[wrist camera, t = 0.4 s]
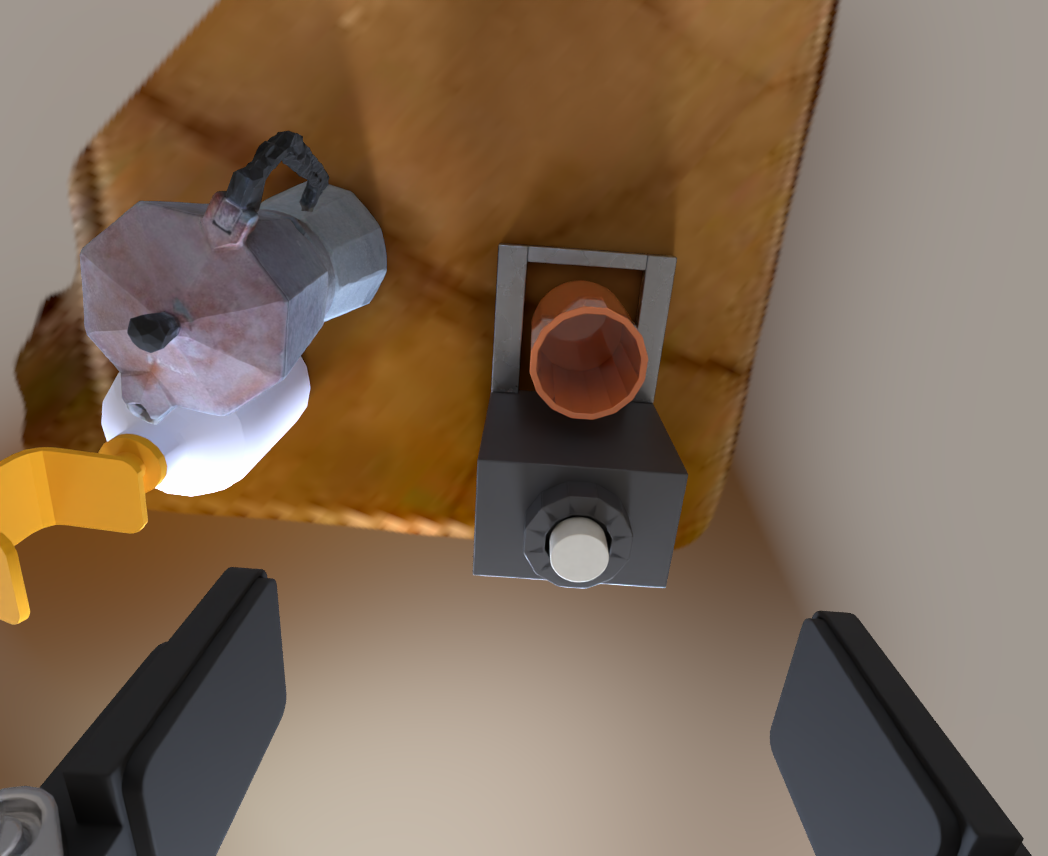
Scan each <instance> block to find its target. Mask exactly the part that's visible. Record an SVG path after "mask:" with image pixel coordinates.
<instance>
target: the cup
mask: <svg viewBox="0 0 1048 856" xmlns="http://www.w3.org/2000/svg"><path fill="white" fill-rule="evenodd" d="M647 364H648V355H647V351H646V348H645V344H644V340H643V337H642V335H641V333H640V332H639V330H638V329H637V327H636V326H635V324H634V322H633V321H632V319H631V318H630V316H629V315H628V313H627V311H626V310H625V308H624V307H623V305H622V304H621V303H620V301H619V300H618V299H617V297H616V296H615V295H614V294H613V293H612V292H611V291H610V290H608V289H607V288H605V287H604V286H602V285H600V284H598V283H595V282H591V281H585V280H575V281H569V282H565V283H563V284H560V285H558V286H556V287H555V288H553V289H552V290H550V291H549V292H548V293H547V294H546V295H545V296H544V297H543V298H542V299H541V300H540V302H539V303H538V305H537V307H536V309H535V311H534V314H533V316H532V324H531V341H530V375H531V378H532V381H533V384H534V386H535V389H536V392H537V394H538V395H539V396H540V397H541V398H542V399H543V400H544V401H545V402H546V404H547V405H548V406H549V407H550V408H552V409H553V410H555V411H557V412H559V413H561V414H563V415H565V416H568V417H570V418H575V419H589V420H593V419H598V418H601V417H605V416H608V415H611V414H614V413H616V412H618V411H619V410H620V409H621V408H623V407H624V406H625V405H627V404H628V403H629V402H631V401H632V400H633V399H634V397H635V396H636V394H637V392H638V391H639V389H640V388H641V386H642V384H643V383H644V381H645V376H646V370H647Z"/></svg>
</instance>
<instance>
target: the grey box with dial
mask: <svg viewBox="0 0 1048 856" xmlns="http://www.w3.org/2000/svg"><path fill="white" fill-rule="evenodd" d="M687 478H688V473H687V471H686V469H685V467H684V465H683V463H682V461H681V459H680V457H679V455H678V453H677V451H676V449H675V447H674V445H673V443H672V441H671V439H670V437H669V435H668V433H667V431H666V429H665V427H664V425H663V423H662V421H661V419H660V417H659V415H658V413H657V411H656V409H655V407H654V405H653V403H641V402H629V403H628V404H627V405H625V406H624V407H623V408H621V409H620V410H619V411H618V412H616V413H614V414H611V415H608V416H605V417H601V418H598V419H593V420H589V419H575V418H570V417H568V416H565V415H563V414H561V413H559V412H557V411H555V410H553V409H552V408H550V407H549V406H548V405H547V404H546V402H545V401H544V400H543V399H542V398H541V397H540V396H539V395H538V394H537V392H536V391H525V390H518V393H517V394H515V393H501V392H492V391H491V396H490V401H489V406H488V411H487V416H486V421H485V426H484V431H483V436H482V441H481V446H480V451H479V456H478V463H477V486H476V509H475V532H474V555H473V575H480V576H495V577H510V578H525V579H540V580H548V581H550V582H551V583H553V584H555V585H556V586H559V587H568V588H583V589H586V588H589V587H592V586H595V585H597V584H612V585H628V586H642V587H657V588H666V584H667V579H668V573H669V568H670V563H671V558H672V553H673V548H674V543H675V538H676V533H677V528H678V523H679V518H680V513H681V508H682V503H683V498H684V493H685V488H686V483H687ZM572 517H585V518H588V519H591V520H593V521H595V522H596V523H597V524H599V525H600V527H601V528H602V529H603V531H604V533H605V537H606V542H607V547H608V552H609V561H608V564H607V567H606V568H605V570H604V571H603V572H602V573H601V574H600V575H599V576H598V577H596V578H594V579H592V580H589V581H585V582H572V581H569V580H566V579H564V578H562V577H561V576H559V575H558V574H557V573H556V572H555V571H554V569H553V567H552V565H551V561H550V535H551V533H552V531H553V529H554V528H555V527H556V526H557V525H558V524H559V523H560V522H562V521H563V520H566V519H568V518H572Z"/></svg>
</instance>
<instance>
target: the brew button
mask: <svg viewBox="0 0 1048 856" xmlns="http://www.w3.org/2000/svg"><path fill="white" fill-rule="evenodd" d="M550 561H551V565H552V567H553V569H554V571H555V572H556V573H557V574H558V575H559V576H561V577H562V578H564V579H566V580H569V581H572V582H585V581H589V580H592V579H594V578H596V577H598V576H599V575H600V574H601V573H602V572H603V571H604V570H605V568H606V567H607V564H608V561H609V552H608V547H607V542H606V537H605V533H604V531H603V529H602V528H601V527H600V525H599V524H597V523H596V522H595V521H593V520H591V519H588V518H585V517H572V518H568V519H566V520H563V521H562V522H560V523H559V524H558V525H557V526H556V527H555V528H554V529H553V531H552V533H551V535H550Z"/></svg>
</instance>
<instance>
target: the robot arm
mask: <svg viewBox="0 0 1048 856" xmlns="http://www.w3.org/2000/svg"><path fill="white" fill-rule="evenodd" d="M281 640H282V639H281V629H280V617H279V605H278V594H277V584H276V581H275V580H274V579H270V578H267V574H266V572H265V571H264V570H263V569H249V568H237V567H230V568H228V569H227V570H226V571H225V572H224V573H223V574H222V575H221V577H220V578H219V579H218V580H217V582H216V583H215V584H214V585H213V587H212V588H211V589H210V590H209V591H208V593H207V594H206V595H205V596H204V598H203V599H202V600H201V601H200V603H199V604H198V605H197V606H196V608H195V609H194V610H193V611H192V612H191V614H190V615H189V616H188V617H187V619H186V620H185V621H184V622H183V623H182V625H181V626H180V627H179V628H178V630H177V631H176V632H175V633H174V635H173V636H172V637H171V638H170V639H169V641H168V642H164V643H162V644H160V645H158V646H157V647H156V648H155V649H154V650H153V651H152V652H151V653H150V655H149V656H148V657H147V658H146V659H145V661H144V662H143V663H142V664H141V665H140V667H139V668H138V669H137V670H136V672H135V673H134V674H133V675H132V676H131V678H130V679H129V680H128V681H127V682H126V684H125V685H124V686H123V687H122V688H121V690H120V691H119V692H118V693H117V694H116V696H115V697H114V698H113V699H112V701H111V702H110V703H109V704H108V706H107V707H106V708H105V709H104V710H103V711H102V713H101V714H100V715H99V716H98V717H97V719H96V720H95V721H94V723H93V724H92V725H91V726H90V727H89V728H88V730H87V731H86V732H85V733H84V734H83V736H82V737H81V738H80V739H79V740H78V742H77V743H76V744H75V745H74V746H73V748H72V749H71V750H70V751H69V753H68V754H67V755H66V756H65V757H64V759H63V760H62V761H61V762H60V763H59V765H58V766H57V767H56V768H55V769H54V771H53V772H52V773H51V774H50V776H49V777H48V778H47V779H46V781H45V782H44V783H43V784H42V785H41V786H40V788H36V787H30V786H21V787H12V788H4V789H1V790H0V856H216V854H217V852H218V850H219V848H220V846H221V844H222V842H223V840H224V838H225V836H226V833H227V831H228V829H229V827H230V825H231V823H232V821H233V819H234V817H235V815H236V812H237V810H238V808H239V806H240V804H241V802H242V800H243V798H244V796H245V794H246V791H247V790H248V787H249V785H250V783H251V781H252V779H253V777H254V775H255V773H256V771H257V769H258V766H259V764H260V762H261V760H262V758H263V756H264V754H265V752H266V750H267V748H268V746H269V744H270V741H271V739H272V737H273V735H274V733H275V731H276V729H277V727H278V725H279V722H280V720H281V718H282V716H283V713H284V709H285V704H286V686H285V675H284V663H283V651H282V641H281ZM770 745H771V749H772V752H773V755H774V758H775V760H776V762H777V765H778V767H779V770H780V772H781V774H782V776H783V779H784V781H785V784H786V786H787V788H788V791H789V793H790V796H791V798H792V800H793V803H794V805H795V807H796V810H797V812H798V815H799V817H800V819H801V822H802V824H803V826H804V829H805V831H806V834H807V836H808V838H809V841H810V843H811V845H812V848H813V850H814V852H815V855H816V856H1031V854H1030V853H1029V851H1028V850H1027V849H1026V847H1025V846H1024V845H1023V843H1022V841H1023V837H1022V836H1021V834H1020V833H1019V832H1018V830H1017V829H1016V828H1015V826H1014V825H1013V824H1012V822H1011V821H1010V820H1009V818H1008V817H1007V816H1006V815H1005V813H1004V812H1003V810H1002V809H1001V808H1000V807H999V805H998V804H997V802H996V801H995V800H994V798H993V797H992V796H991V794H990V793H989V792H988V791H987V789H986V788H985V787H984V785H983V784H982V783H981V781H980V780H979V779H978V777H977V776H976V775H975V773H974V772H973V771H972V769H971V768H970V767H969V765H968V764H967V763H966V761H965V760H964V759H963V757H962V756H961V755H960V753H959V752H958V751H957V749H956V748H955V747H954V745H953V744H952V743H951V741H950V740H949V739H948V737H947V736H946V735H945V733H944V732H943V731H942V729H941V728H940V727H939V725H938V724H937V723H936V721H934V719H933V717H932V716H931V715H930V714H929V712H928V711H927V709H926V708H925V707H924V705H923V704H922V703H921V702H920V700H919V699H918V697H917V696H916V695H915V694H914V692H913V691H912V689H911V688H910V687H909V686H908V684H907V683H906V682H905V680H904V679H903V678H902V676H901V675H900V674H899V672H898V671H897V670H896V668H895V667H894V666H893V664H892V663H891V662H890V660H889V659H888V658H887V656H886V655H885V654H884V652H883V651H882V650H881V648H880V647H879V646H878V644H877V643H876V642H875V640H874V639H873V638H872V636H871V635H870V634H869V633H868V631H867V630H866V628H865V627H864V626H863V624H862V623H861V622H860V620H859V619H858V618H857V617H856V616H855V615H854V614H851V613H844V612H830V611H817V612H816V613H815V614H814V615H813V617H812V619H811V618H808V619H806V620H805V621H804V622H803V625H802V628H801V631H800V634H799V638H798V641H797V644H796V647H795V651H794V654H793V657H792V661H791V664H790V667H789V670H788V674H787V677H786V680H785V684H784V687H783V690H782V693H781V697H780V700H779V703H778V707H777V710H776V713H775V717H774V720H773V723H772V726H771V730H770Z"/></svg>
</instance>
